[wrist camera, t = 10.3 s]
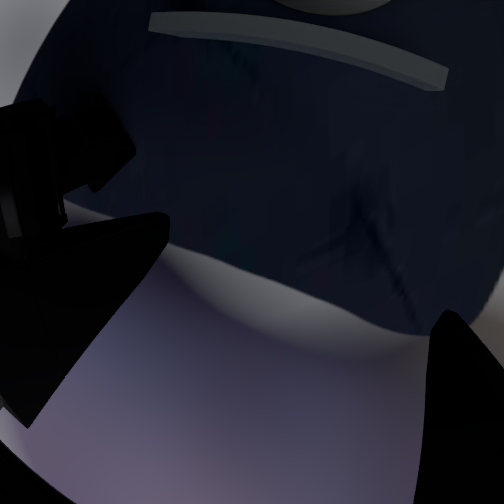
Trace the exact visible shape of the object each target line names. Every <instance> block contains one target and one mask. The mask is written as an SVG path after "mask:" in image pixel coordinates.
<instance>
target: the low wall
mask: <svg viewBox="0 0 504 504" xmlns="http://www.w3.org/2000/svg"><path fill="white" fill-rule="evenodd" d="M148 31H152V32H158V33H163V34H169V35H174V36H178V37H187V38H204V39H217V40H228V41H237V42H245V43H252V44H259V45H266V46H272V47H278V48H283V49H289V50H294V51H299V52H303V53H308V54H312V55H317V56H321V57H325V58H329V59H333V60H337V61H340V62H344V63H348V64H351V65H355V66H358V67H361V68H365V69H368V70H371V71H374V72H377V73H380V74H383V75H386V76H389V77H392V78H394V79H397V80H400V81H403V82H405V83H408V84H410V85H413V86H415V87H418V88H420V89H423V90H425V91H439V90H444V87H445V83H446V79H447V74H448V70H449V69H448V68H446V67H444V66H442V65H439V64H437V63H435V62H432V61H430V60H428V59H425V58H423V57H420V56H418V55H415V54H413V53H410V52H407V51H405V50H402V49H399V48H396V47H394V46H391V45H388V44H385V43H382V42H378V41H375V40H372V39H369V38H365V37H362V36H358V35H355V34H351V33H347V32H344V31H340V30H336V29H331V28H327V27H323V26H318V25H313V24H308V23H303V22H297V21H292V20H286V19H279V18H272V17H264V16H256V15H246V14H234V13H219V12H154V13H151V18H150V23H149V29H148Z"/></svg>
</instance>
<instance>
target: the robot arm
mask: <svg viewBox="0 0 504 504" xmlns="http://www.w3.org/2000/svg"><path fill="white" fill-rule="evenodd" d="M97 98H98V101H97ZM55 113H56V105H54V106H47V104H44V102H43V101H42V99H41V98H36V99H32V100H27V101H23V102H19V103H15V104H11V105H7V106H4V107H0V410H1V408H2V407H3V406H4V407H5V408H6V409H7V410H8V411H9V412H10V413H11V414H12V415H13V416H14V417H15V418H16V419H17V420H18V421H19V422H20V423H21V424H23V425H24V426H25V427H26V428H27V429H28V428H29V427H30V426H31V424H32V423H33V421H34V420H35V419H36V417H37V416H38V414H39V413H40V411H41V410H42V409H43V407H44V406H45V404H46V403H47V402H48V400H49V399H50V397H51V396H52V395H53V393H54V392H55V390H56V389H57V388H58V386H59V385H60V383H61V382H62V381H63V379H64V378H65V376H66V375H67V374H68V373H69V371H70V370H71V369H72V367H73V366H74V364H75V363H76V362H77V361H78V359H79V358H80V357H81V355H82V354H83V353H84V351H85V350H86V349H87V348H88V346H89V345H90V343H91V342H92V341H93V340H94V339H95V337H96V336H97V335H98V334H99V332H100V331H101V330H102V329H103V327H104V326H105V325H106V324H107V322H108V321H109V320H110V319H111V317H112V316H113V315H114V314H115V312H116V311H117V310H118V309H119V307H120V306H121V305H122V304H123V303H124V301H125V300H126V299H127V298H128V297H129V296H130V294H131V293H132V292H133V291H134V290H135V288H136V287H137V286H138V285H139V284H140V282H141V281H142V280H143V279H144V277H145V276H146V275H147V273H148V272H149V270H150V269H151V267H152V266H153V264H154V263H155V261H156V260H157V258H158V257H159V255H160V254H161V253H162V251H163V250H164V248H165V247H166V245H167V243H168V240H169V229H170V217H169V216H168V215H167V214H164V213H161V212H152V213H146V214H140V215H134V216H128V217H122V218H116V219H111V220H105V221H100V222H94V223H89V224H84V225H78V226H73V227H68V228H64V229H61V228H62V227H63V226H64V225H65V224H66V223H67V222H68V219H67V214H65V208H64V202H63V195H65V194H67V193H69V192H71V191H73V190H75V189H77V188H79V187H81V186H83V185H85V184H88V186H89V187H90V189H91V190H92V192H97V191H99V190H100V189H101V188H102V187H103V186H104V185H105V184H106V183H107V182H108V181H109V180H110V179H111V178H112V177H113V176H114V175H115V174H116V173H117V172H118V171H119V170H120V169H121V168H122V167H123V166H124V165H125V164H127V163H128V162H129V161H130V160H131V159H132V158H133V157H134V156H135V154H136V149H135V147H134V145H133V144H132V142H131V140H130V139H129V137H128V136H127V134H126V132H125V131H124V129H123V128H122V126H121V124H120V123H119V121H118V120H117V118H116V116H115V115H114V113H113V111H112V110H111V108H110V107H109V105H108V103H107V102H106V100H105V98H104V97H103V95H102V94H95V95H93V97H92V98H91V99H90V100H89V102H88V103H87V104H86V105H85V107H84V108H83V109H82V111H80V112H76V113H72V114H71V115H68V116H64V117H60V118H56V119H55ZM129 150H130V152H131V153H129ZM413 502H414V503H413V504H504V369H503V367H502V366H501V364H500V363H499V362H498V361H497V359H496V358H495V357H494V356H493V354H492V353H491V352H490V351H489V349H488V348H487V347H486V346H485V345H484V343H482V341H481V340H480V339H479V338H478V336H477V335H476V334H475V333H474V332H473V330H472V329H471V328H470V327H469V326H468V325H467V324H466V322H465V321H464V320H463V319H462V318H461V317H460V316H459V315H458V314H457V313H456V312H453V311H450V310H445V311H444V312H443V313H442V315H441V316H440V318H439V319H438V321H437V322H436V324H435V325H434V327H433V328H432V330H431V333H430V340H429V352H428V363H427V371H426V393H425V415H424V428H423V438H422V448H421V457H420V465H419V471H418V478H417V484H416V491H415V495H414V501H413ZM0 504H76V503H74V502H73V501H72V500H70V499H69V498H67V497H66V496H64V495H63V494H62V493H60V492H59V491H58V490H56V489H55V488H54V487H52V486H51V485H50V484H49V483H48V482H46V481H45V480H44V479H43V478H41V477H40V476H39V475H38V474H36V473H35V472H34V471H33V470H32V469H31V468H30V467H28V466H27V465H26V464H25V463H24V462H23V461H22V460H21V459H19V458H18V457H17V456H16V455H15V454H14V453H13V452H12V451H11V450H10V449H9V448H8V447H7V446H6V445H5V444H4V443H3V442H2V441H1V440H0Z"/></svg>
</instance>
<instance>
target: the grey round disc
mask: <svg viewBox="0 0 504 504" xmlns="http://www.w3.org/2000/svg"><path fill="white" fill-rule="evenodd" d="M273 1H275V2H277V3H279V4H281V5H283V6H286V7H288V8H291V9H294V10H297V11H300V12H305V13H309V14H315V15H324V16H345V15H352V14H359V13H363V12H367V11H370V10H372V9H375V8H378V7H380V6H382V5H384V4H386V3H387V2H389V1H390V0H273Z"/></svg>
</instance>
